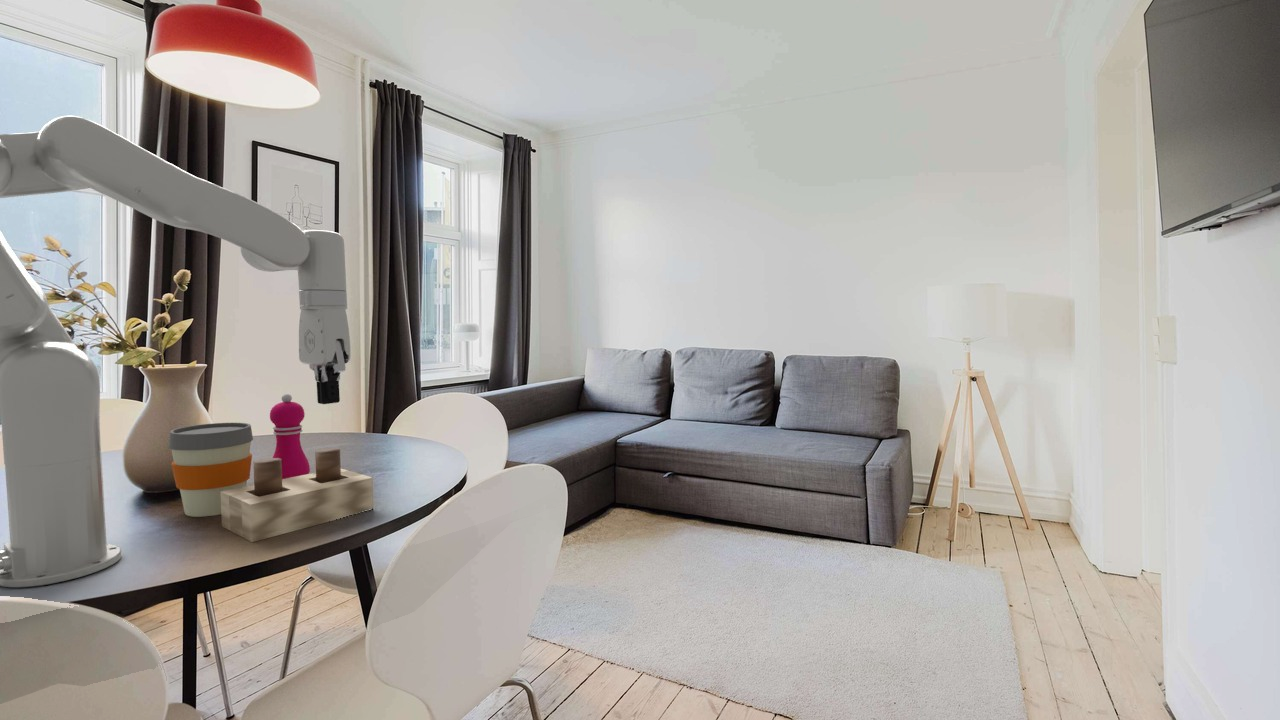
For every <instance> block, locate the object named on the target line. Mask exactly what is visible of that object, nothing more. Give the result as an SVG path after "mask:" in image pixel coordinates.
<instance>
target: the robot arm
mask: <svg viewBox="0 0 1280 720" xmlns="http://www.w3.org/2000/svg"><path fill="white" fill-rule="evenodd" d="M85 189H92V190H93V191H95V192H98V193H99V194H102V195H105V196H107V197H109V198H110V199H112V200H114V201H117V202H119V203H121V204H123V205H125V206H128V207H130V208H131V209H134V210H136V211H137V212H139V213H141V214H143V215H145V216H147V217H150V218H151V219H153V220H156V221H158V222H160V223H162V224H166V225H169V226H171V227H175V228H179V229H185V230H191V231H196V232H201V233H203V234H208V235H211V236H213V237H216V238H219V239H221V240H224V241H227V242H228V243H231V244H232V245H235V246H237V247H239V248H240V252H241V256H242V258H243V259H244V261H245V262H246V263H247V264H249V265H250V266H251V267H253V268H254V269H257V270H259V271H262V272H268V273H271V272H284V271H285V272H286V271H297V277H298V295H299V296H298V299H299V300H298V301H299V310H300V314H299V323H298V325H299V326H298V355H299V356H298V359H299V361H300V363H301V364H304V365H309V369H310V370H312V371H314V380H315V381H316V395H317V397H316V398H317V400H316V401H317V404H320V405H330V404H336V403H339V402H340V400H341V397H340V380H341V373H342V372H346V364H347V363H349V361H350V360H351V337H350V328H349V321H348V314H347V310H348V295H347V294H348V293H347V273H346V270H347V269H346V254H345V241H344V238H343V236H342V235H341V234H340V233H339V232H335V231H331V230H321V229H309V230H302V229H301V228H300V227H299V226H298V225H296V224H295V223H294V222H293V221H290V220H289V219H288V218H285V217H284V216H282V215H280V214H278V213H277V212H275V211H273V210H271V209H269V208H268V207H266V206H264V205H262V204H261V203H258V202H257V201H254V200H253V199H250V198H249V197H246V196H244V195H242V194H240V193H237V192H235V191H232V190H229V189H227V188H225V187H221V186H220V185H218V184H215V183H212V182H210V181H208V180H205V179H203V178H200V177H197V176H195V175H193V174H191V173H189V172H187V171H186V170H183V169H181V168H180V167H178V166H176V165H174V164H173V163H170V162H168V161H167V160H165V159H164V158H161V157H160V156H158V155H156V154H154V153H152V152H150V151H148V150H147V149H145V148H143V147H141V146H139V145H138V144H136V143H134V142H132V141H130V140H129V139H127V138H125V137H124V136H121V135H120V134H118V133H116V132H114V131H112V130H110V129H109V128H107V127H105V126H103V125H101V124H99V123H97V122H95V121H92V120H89V119H88V118H85V117H81V116H75V115H64V116H59V117H56V118H53V119H52V120H50V121H49V122H48V123H46V124H45V125H44V126H43V127H42V128H41V130H40V131H34V132H20V133H2V134H1V133H0V199H5V198H14V197H17V198H18V197H24V196H25V197H26V196H36V195H46V194H48V195H49V194H56V193H64V192H72V191H73V192H74V191H79V190H85ZM1 231H2V230H0V421H1V434H2V435H1V436H2V451H3V453H2V454H3V464H4V469H5V472H4V473H5V484H6V499H7V513H8V528H9V531H8V532H9V542H8V541H7V542H4V543H3V548H2V549H0V587H5V588H31V587H40V586H46V585H51V584H57V583H61V582H67V581H70V580H74V579H77V578H81V577H85V576H88V575H90V574H91V575H92V574H93V573H97V572H100V571H102V570H104V569H106V568H108V567H110V566H112V565H114V564H115V563H117V562H119V560H120V559H121V558H122V549H121V547H119V546H118V545H114V544H109V543H108V544H107V528H106V509H105V492H104V477H103V475H104V473H103V460H102V459H103V458H102V457H103V456H102V446H101V445H102V443H101V422H100V417H101V416H100V412H101V411H100V404H101V402H100V401H101V399H100V396H101V385H100V384H101V383H100V376H99V372H98V369H97V367H96V365H95V362H94V361H93V360H92V358H91V357H90V356H89V355H88V354H87V353H85V352H84V351H83V350H81V349H80V348H78V346H77V345H76V344H75V341H73V339H72V337H71V335H69V333H68V331H67V330H66V329H65V327H64V325H63V324H62V323H61V321H60V319H59V318H58V316H57V315H56V314H55V312H54V311H53V309H52V308H51V306H50V304H49V302H48V299H47V295H46V293H45V291H44V290H43V288H42V287H41V285H40V284H39V283H38V282H37V281H36V280H34V278H33V276H31V275H30V274H29V272H28V271H27V269H26V268H25V267H24V265H23V264H22V263H21V261H20V259H19V258H18V256H17V255H16V254H15V252H14V251H13V249H12V248H11V246H10V245H9V244H8V242H7V240H6V238H5V236H4V235H3V233H2V232H1Z"/></svg>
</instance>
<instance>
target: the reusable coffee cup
mask: <svg viewBox="0 0 1280 720" xmlns="http://www.w3.org/2000/svg"><path fill="white" fill-rule="evenodd" d="M253 436H254V435H253V431H252V425H251V423H246V422H215V423H205V424H195V425H187V426H182V427H178V428H175V429H172V430H170V431H169V438H168V439H169V440H168V449H170V450H171V454H172V459H173V461H172V462H171V468H172V473H173V478H174V481H175V488H176V489H179V492H180V496H181V501H182V507H183V511H184V514H185V515H186V516H188V517H194V518H195V517H196V518H199V517H200V518H201V517H209V516H210V517H211V516H219V515H221V493H220V491H225V490H230V489H235V488H240V487H245V486H247V481H248V480H249V479H250V477H251V469H252V468H251V467H252V458H253V454H252V453H251V446H252V445H251V443H252V441H254V437H253Z"/></svg>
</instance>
